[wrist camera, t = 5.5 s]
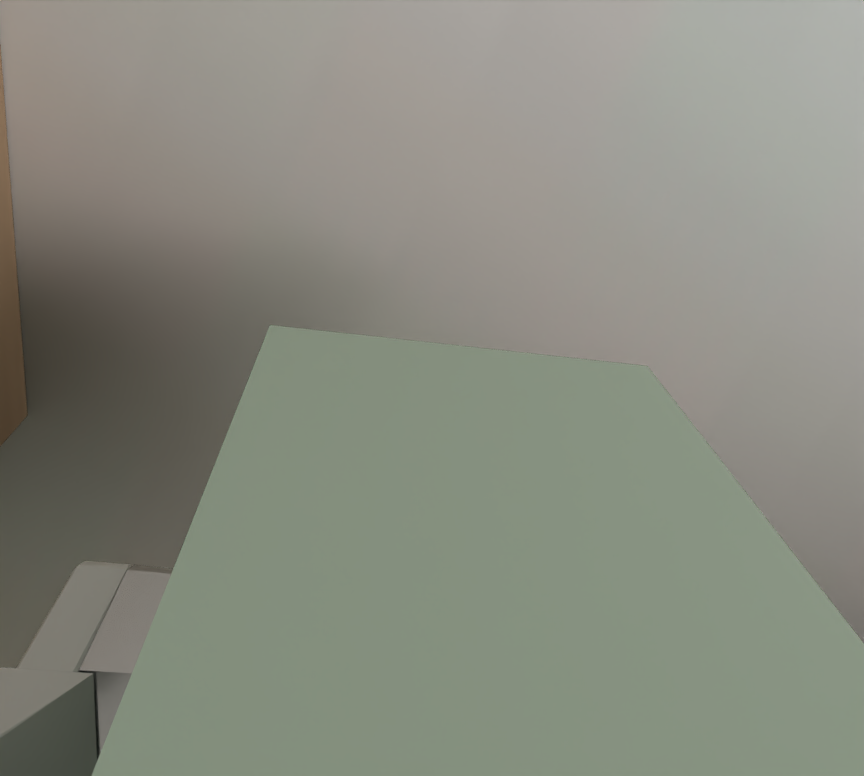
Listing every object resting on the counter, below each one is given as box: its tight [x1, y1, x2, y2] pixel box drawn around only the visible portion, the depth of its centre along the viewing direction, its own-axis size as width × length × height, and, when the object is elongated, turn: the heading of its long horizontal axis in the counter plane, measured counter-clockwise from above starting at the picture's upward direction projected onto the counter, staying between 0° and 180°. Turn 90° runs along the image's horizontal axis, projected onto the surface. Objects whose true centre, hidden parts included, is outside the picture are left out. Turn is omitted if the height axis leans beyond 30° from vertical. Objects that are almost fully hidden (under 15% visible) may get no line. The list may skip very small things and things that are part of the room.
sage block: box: [91, 325, 864, 776], centre depth 8 cm, size 5×5×7 cm
